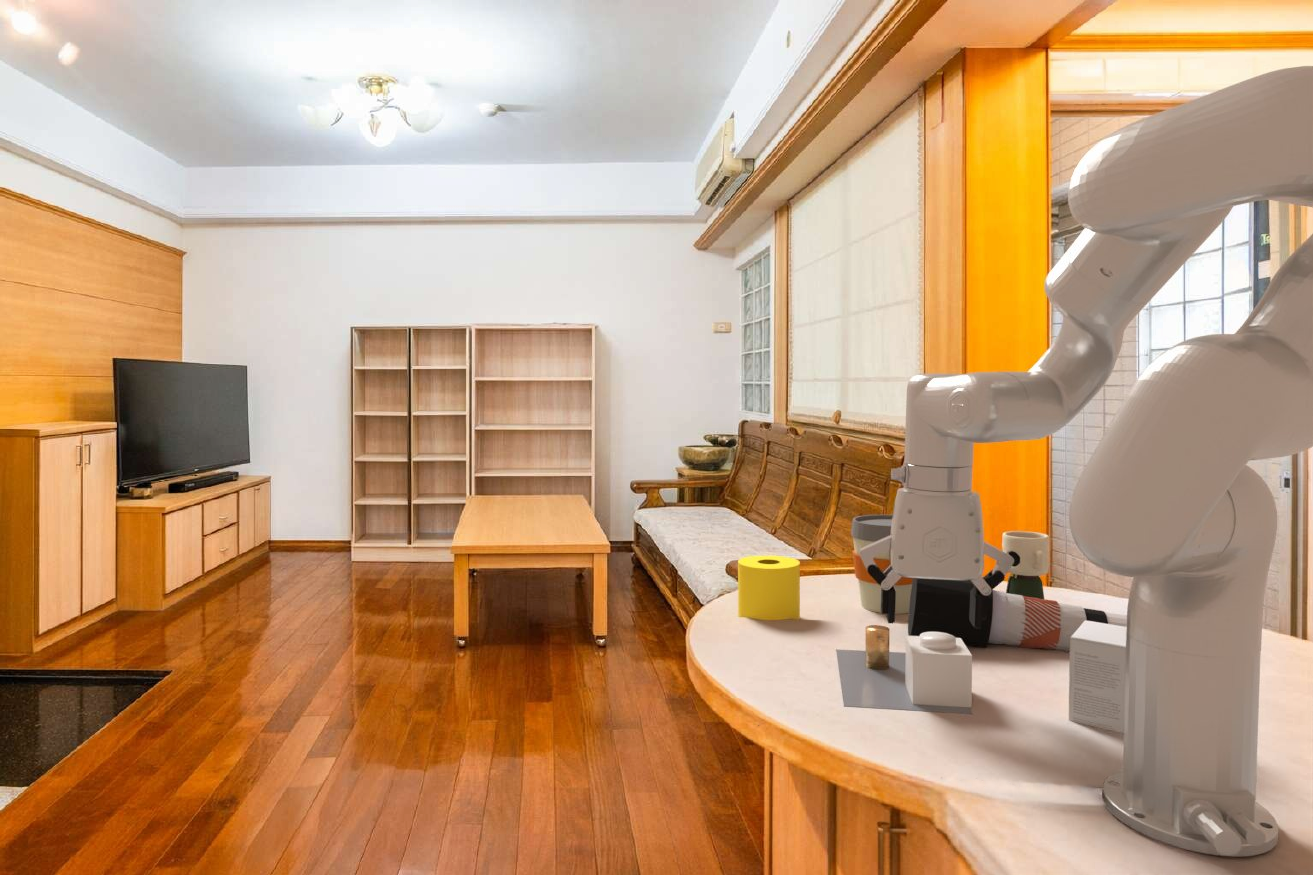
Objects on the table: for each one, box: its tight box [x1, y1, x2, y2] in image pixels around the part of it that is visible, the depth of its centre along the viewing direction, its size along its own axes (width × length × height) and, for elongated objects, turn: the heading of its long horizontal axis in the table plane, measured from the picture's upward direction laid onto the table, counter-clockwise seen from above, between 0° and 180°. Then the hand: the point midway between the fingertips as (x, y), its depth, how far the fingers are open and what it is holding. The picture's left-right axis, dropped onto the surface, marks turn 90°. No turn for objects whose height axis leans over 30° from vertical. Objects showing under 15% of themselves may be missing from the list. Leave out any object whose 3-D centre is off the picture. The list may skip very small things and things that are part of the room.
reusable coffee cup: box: [850, 514, 913, 615], centre depth 135 cm, size 13×13×15 cm
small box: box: [1068, 620, 1127, 734], centre depth 86 cm, size 8×6×10 cm
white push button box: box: [905, 632, 973, 708], centre depth 92 cm, size 6×6×7 cm
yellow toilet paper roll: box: [737, 555, 801, 621], centre depth 129 cm, size 10×10×9 cm
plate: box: [835, 649, 974, 715], centre depth 98 cm, size 20×14×1 cm
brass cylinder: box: [864, 624, 890, 670], centre depth 102 cm, size 3×3×5 cm
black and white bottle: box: [907, 578, 1127, 654], centre depth 111 cm, size 10×34×10 cm
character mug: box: [1001, 530, 1050, 599], centre depth 131 cm, size 11×7×13 cm, turn 1°
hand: (932, 622), depth 93 cm, fingers open, 9 cm apart
